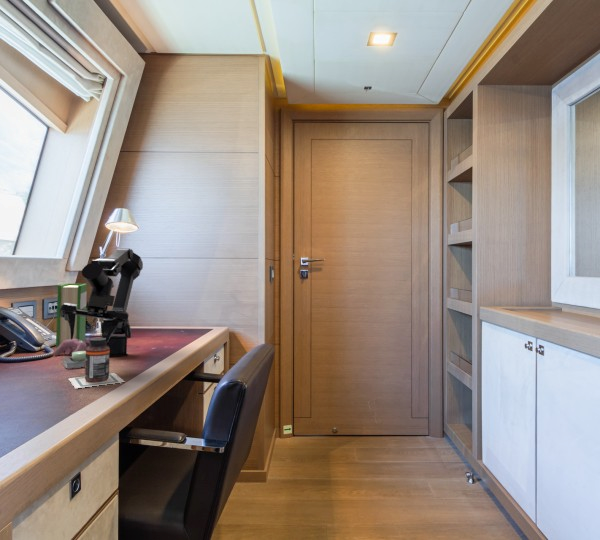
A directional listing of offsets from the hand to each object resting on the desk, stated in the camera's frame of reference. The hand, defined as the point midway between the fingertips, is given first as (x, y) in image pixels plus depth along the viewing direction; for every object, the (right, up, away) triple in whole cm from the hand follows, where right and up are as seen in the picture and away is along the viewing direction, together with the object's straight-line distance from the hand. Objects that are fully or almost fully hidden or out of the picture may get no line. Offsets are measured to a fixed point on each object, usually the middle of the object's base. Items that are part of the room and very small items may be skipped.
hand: (88, 341), depth 124 cm
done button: (-7, -7, +8) cm, 13 cm away
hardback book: (-25, -8, +36) cm, 45 cm away
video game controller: (-17, -9, +21) cm, 28 cm away
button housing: (-7, -9, +8) cm, 14 cm away
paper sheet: (+7, -9, -10) cm, 15 cm away
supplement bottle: (+7, -9, -10) cm, 15 cm away
